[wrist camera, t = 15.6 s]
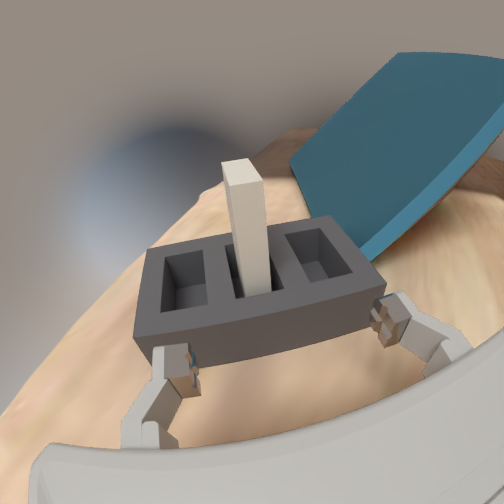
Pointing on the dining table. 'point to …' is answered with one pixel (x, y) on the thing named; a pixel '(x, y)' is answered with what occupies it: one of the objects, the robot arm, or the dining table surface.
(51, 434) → the dining table surface
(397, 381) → the dining table surface
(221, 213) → the dining table surface
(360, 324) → the stand
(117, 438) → the dining table surface
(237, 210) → the white rectangular block
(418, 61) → the stacked coloured sheets
